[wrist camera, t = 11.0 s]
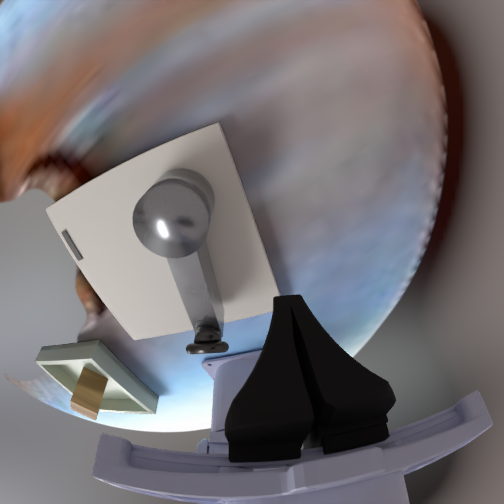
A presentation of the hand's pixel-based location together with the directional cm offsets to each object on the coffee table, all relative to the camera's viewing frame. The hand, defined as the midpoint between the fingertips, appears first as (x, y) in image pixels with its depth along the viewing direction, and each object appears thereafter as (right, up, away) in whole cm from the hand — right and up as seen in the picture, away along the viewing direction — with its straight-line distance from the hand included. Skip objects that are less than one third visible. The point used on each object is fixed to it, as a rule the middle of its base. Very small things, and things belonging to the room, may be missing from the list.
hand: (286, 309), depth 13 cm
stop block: (-25, -15, +18) cm, 34 cm away
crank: (-6, +3, +6) cm, 9 cm away
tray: (-24, -15, +18) cm, 34 cm away
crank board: (-9, +3, +8) cm, 12 cm away
